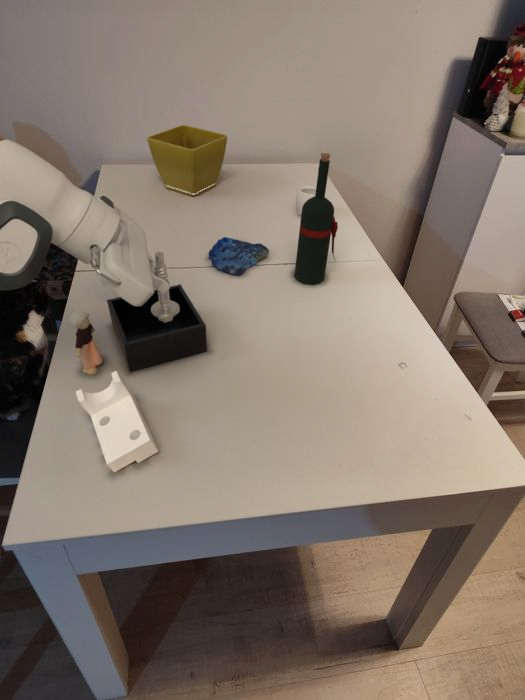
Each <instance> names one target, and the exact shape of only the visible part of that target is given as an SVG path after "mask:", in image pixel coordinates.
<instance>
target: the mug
mask: <svg viewBox="0 0 525 700" xmlns="http://www.w3.org/2000/svg"><path fill="white" fill-rule="evenodd" d="M315 194H316V186H312V185H303V186H301V187H299V188H298V189H297V191H296V195H295V207H296V211H298V212H299V213H302V207H303V205H304V203H305V202H306V201H307V200H308V199H310V198H312V197H314V196H315ZM298 212H297V213H298ZM299 213H298V215H299V216H300V217H301V214H299Z"/></svg>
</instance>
